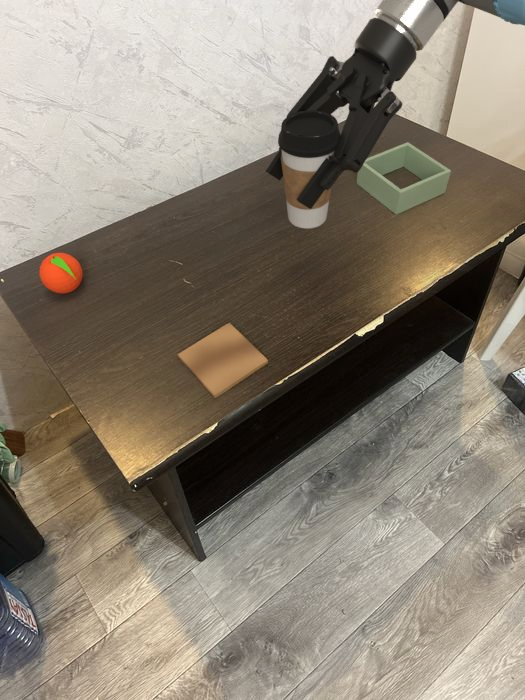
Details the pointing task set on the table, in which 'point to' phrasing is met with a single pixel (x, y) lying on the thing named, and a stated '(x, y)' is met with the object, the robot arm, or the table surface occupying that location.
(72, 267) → the clementine
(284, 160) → the coffee cup
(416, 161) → the holder
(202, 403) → the table surface
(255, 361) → the trivet
